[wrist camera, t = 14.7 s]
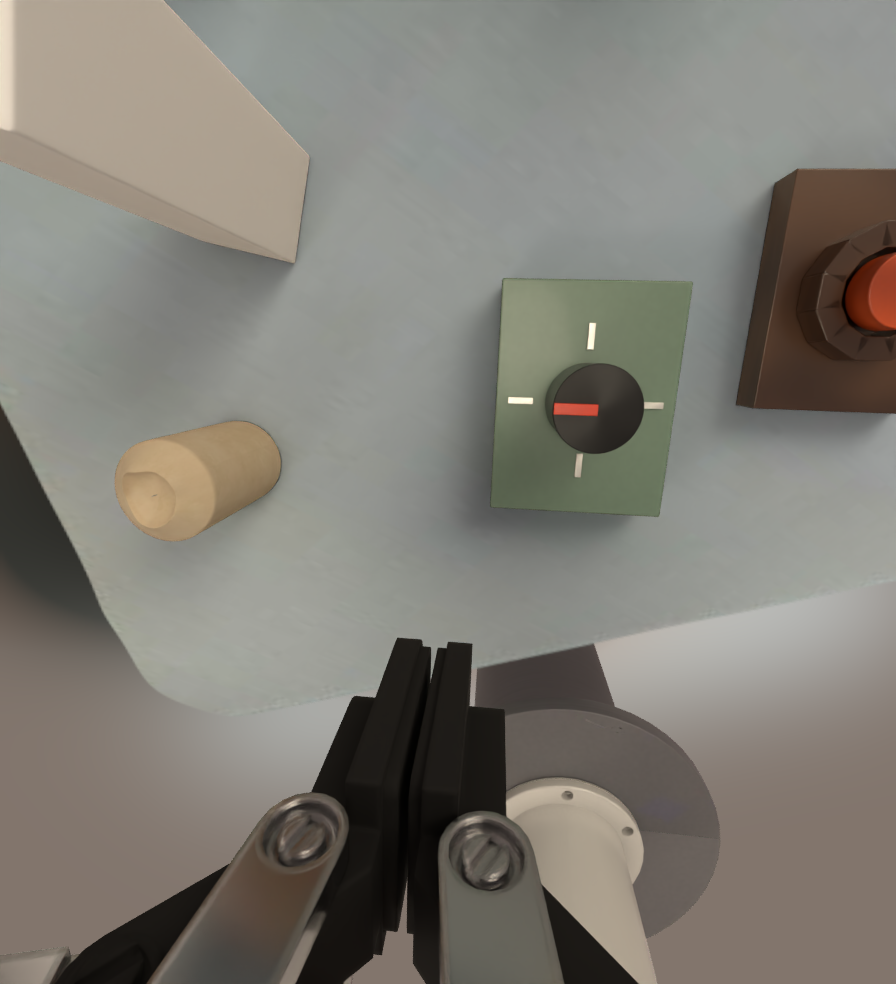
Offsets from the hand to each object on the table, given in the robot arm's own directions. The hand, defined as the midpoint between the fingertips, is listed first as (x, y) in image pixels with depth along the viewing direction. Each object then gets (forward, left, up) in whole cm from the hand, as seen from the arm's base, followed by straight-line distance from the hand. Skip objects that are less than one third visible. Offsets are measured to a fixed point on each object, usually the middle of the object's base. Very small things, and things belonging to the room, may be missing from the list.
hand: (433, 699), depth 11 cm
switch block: (+11, -20, -23) cm, 32 cm away
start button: (+11, -20, -19) cm, 30 cm away
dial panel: (+5, -6, -23) cm, 24 cm away
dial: (+5, -6, -20) cm, 22 cm away
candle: (0, +16, -23) cm, 28 cm away
